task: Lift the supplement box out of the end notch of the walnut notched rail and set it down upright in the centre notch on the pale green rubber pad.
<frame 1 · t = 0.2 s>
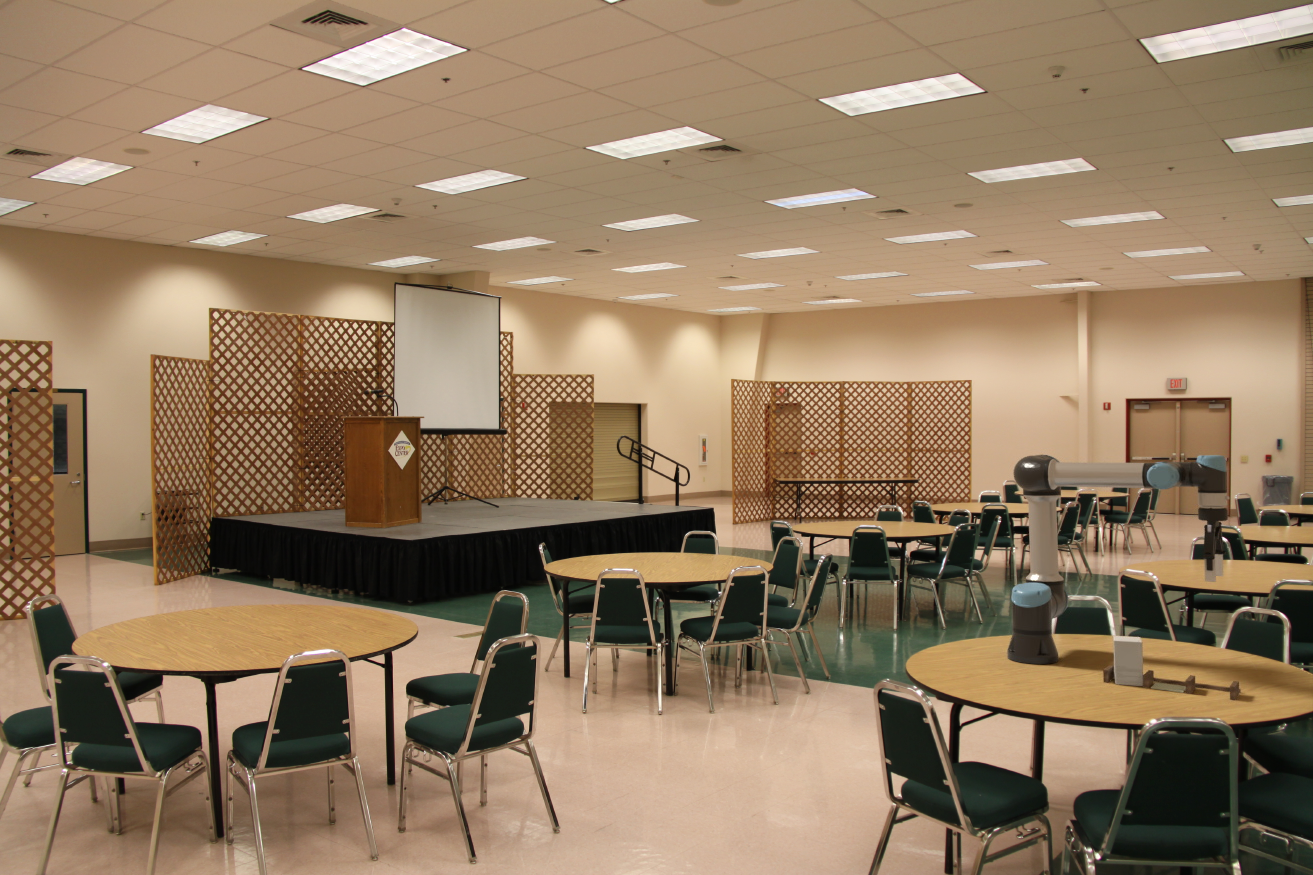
hand: (1214, 578, 276), 28 cm above the table, fingers open, 13 cm apart
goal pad: (1169, 687, 259), on the table
supplement box: (1128, 683, 266), on the table
notch rail: (1169, 687, 259), on the table
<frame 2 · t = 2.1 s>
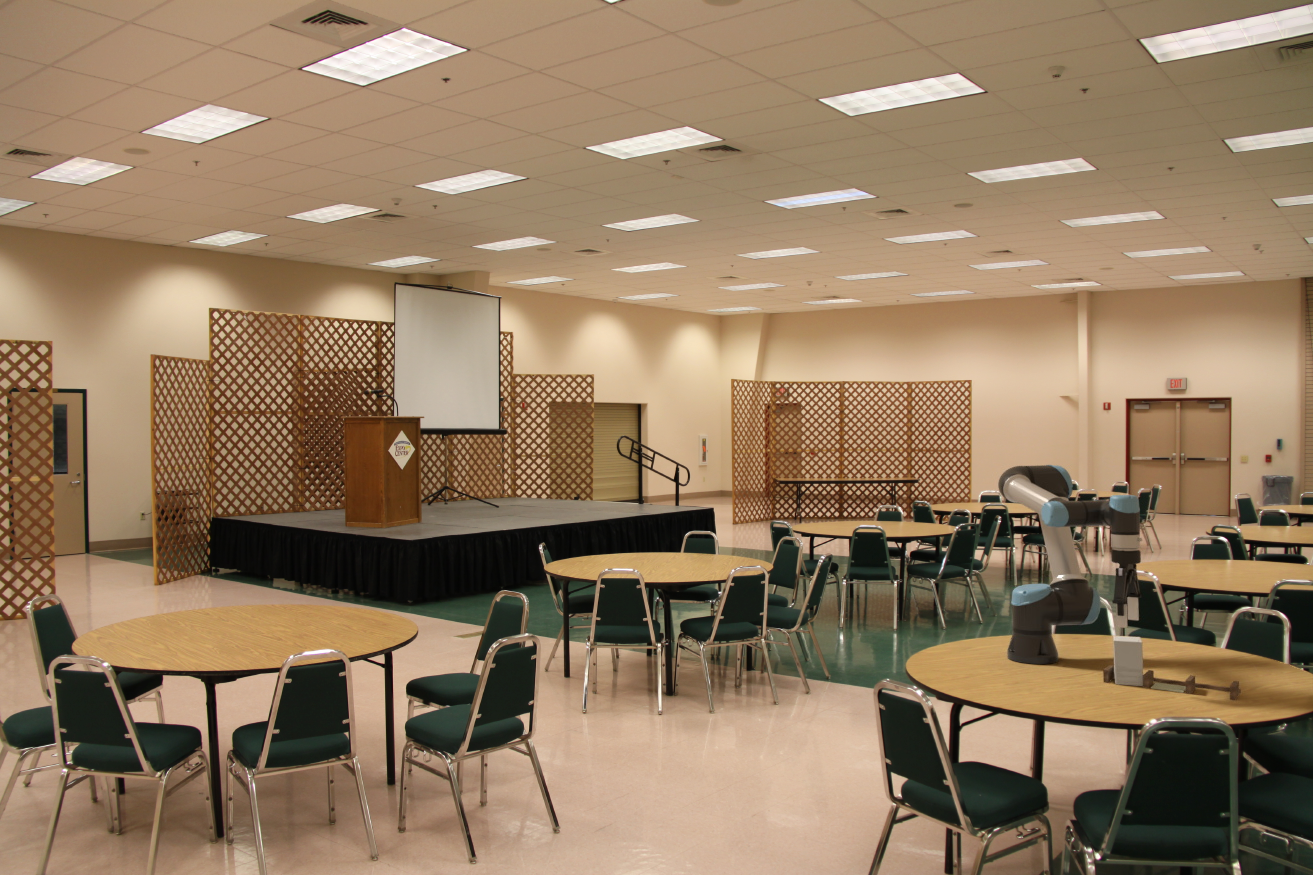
hand: (1127, 623, 266), 17 cm above the table, fingers open, 13 cm apart
nothing on the table moved.
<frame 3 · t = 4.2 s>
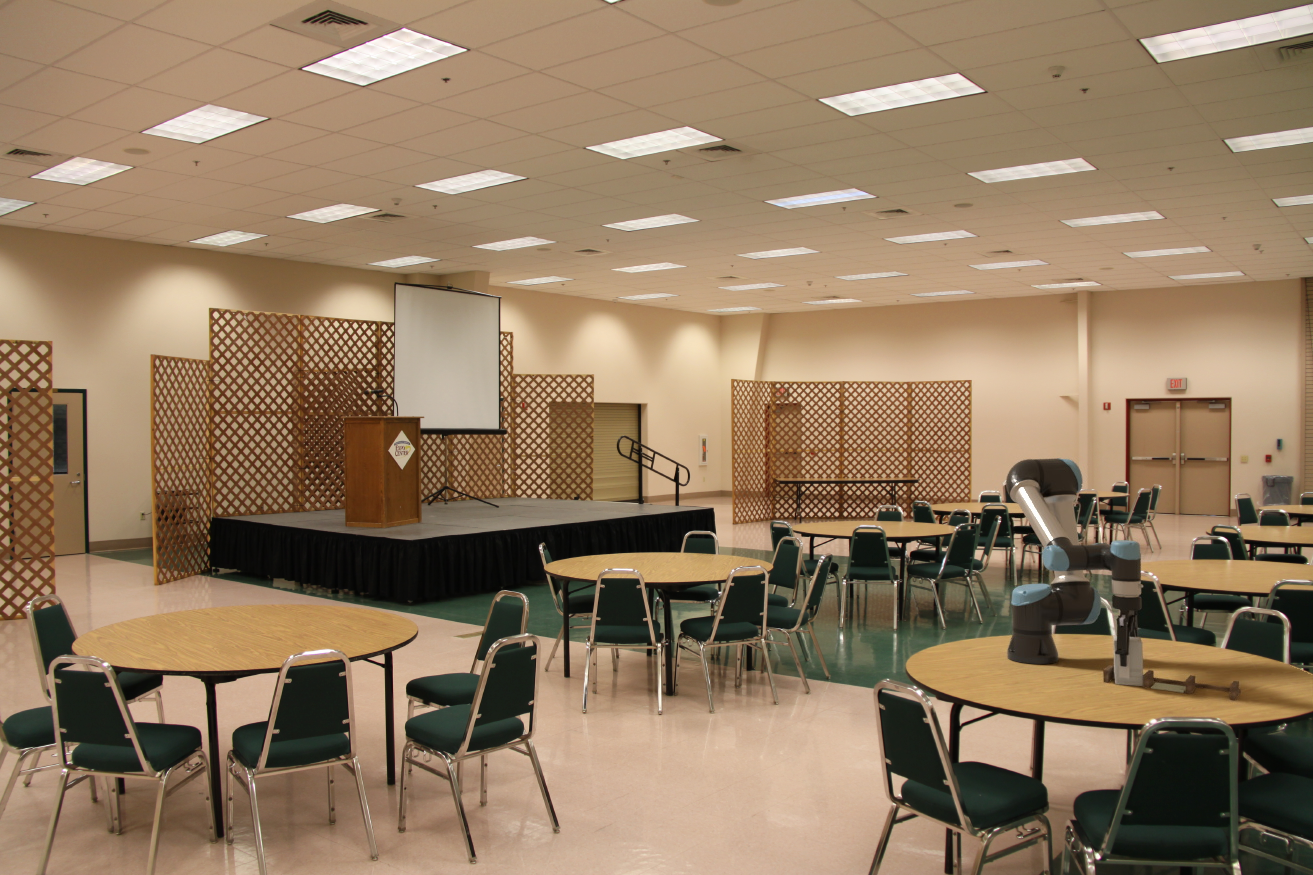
hand: (1128, 674, 266), 2 cm above the table, fingers closed on supplement box, 8 cm apart
supplement box: (1128, 683, 266), on the table, touching gripper
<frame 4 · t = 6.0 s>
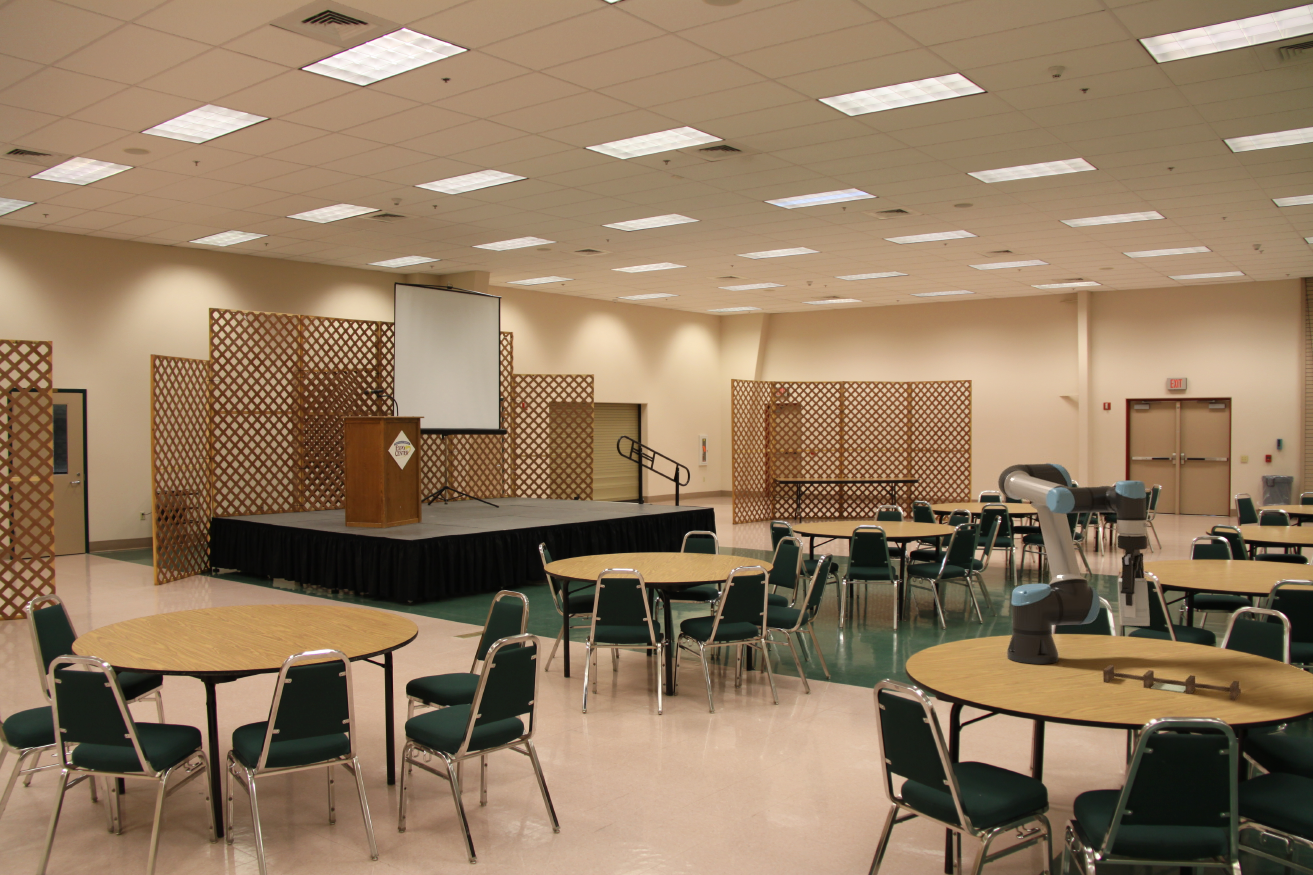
hand: (1134, 614, 264), 20 cm above the table, fingers closed on supplement box, 8 cm apart
supplement box: (1135, 624, 264), point 17 cm above the table, touching gripper
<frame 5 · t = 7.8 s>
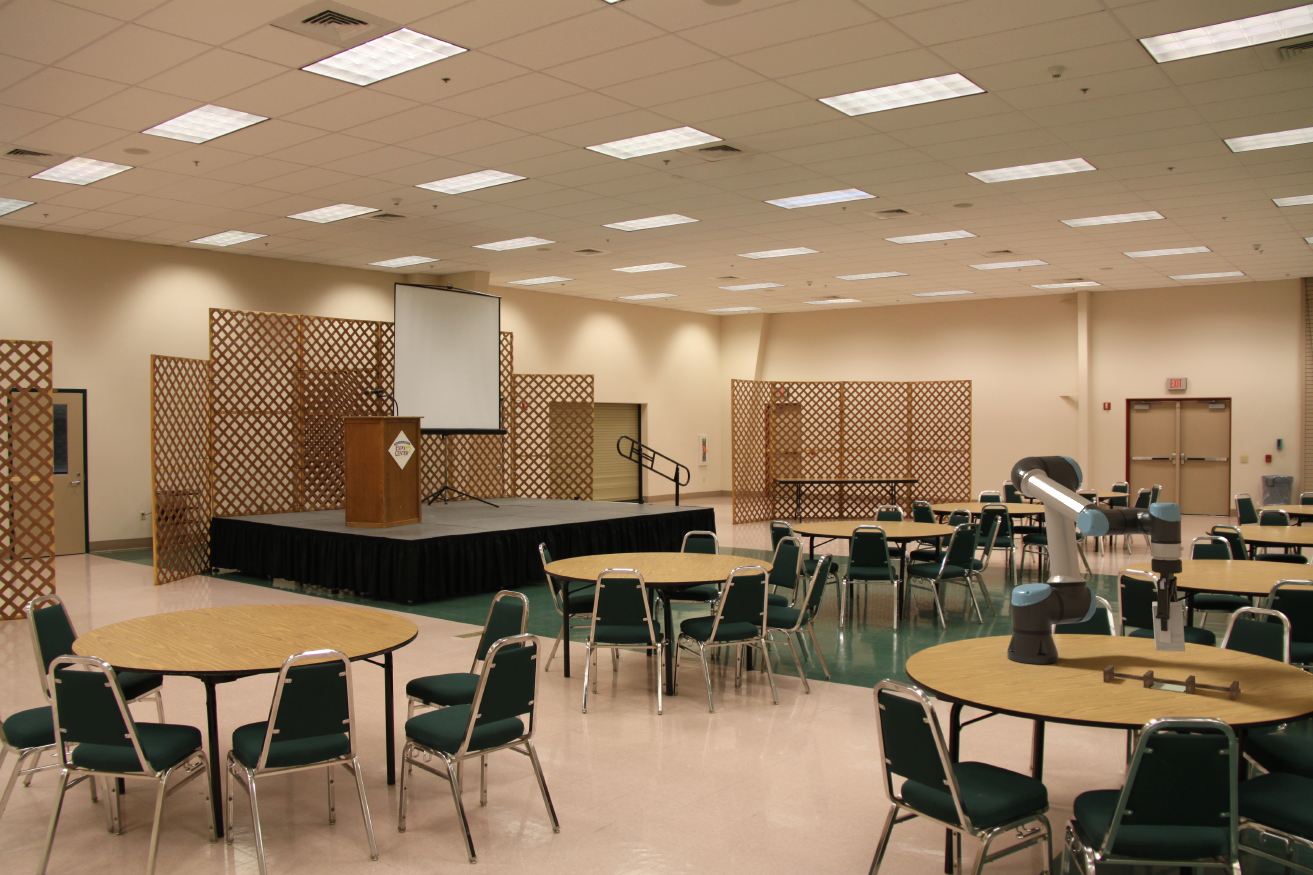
hand: (1168, 639, 259), 13 cm above the table, fingers closed on supplement box, 8 cm apart
supplement box: (1169, 649, 259), point 11 cm above the table, touching gripper
when the fingers open (4 cm above the table, at t = 10.3 s): supplement box stays where it is, resting on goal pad.
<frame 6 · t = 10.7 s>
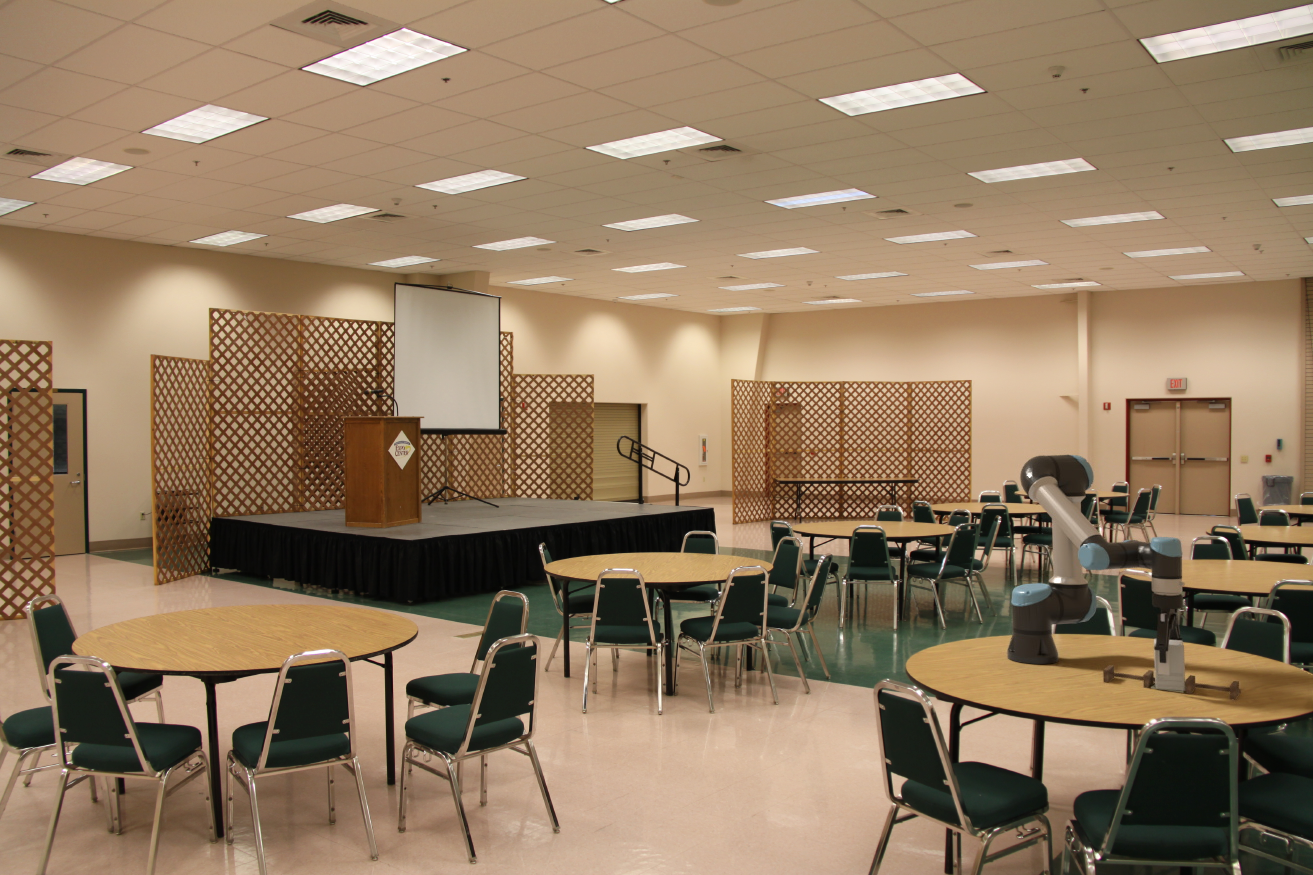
hand: (1169, 669, 259), 5 cm above the table, fingers open, 13 cm apart
supplement box: (1169, 687, 259), resting on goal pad
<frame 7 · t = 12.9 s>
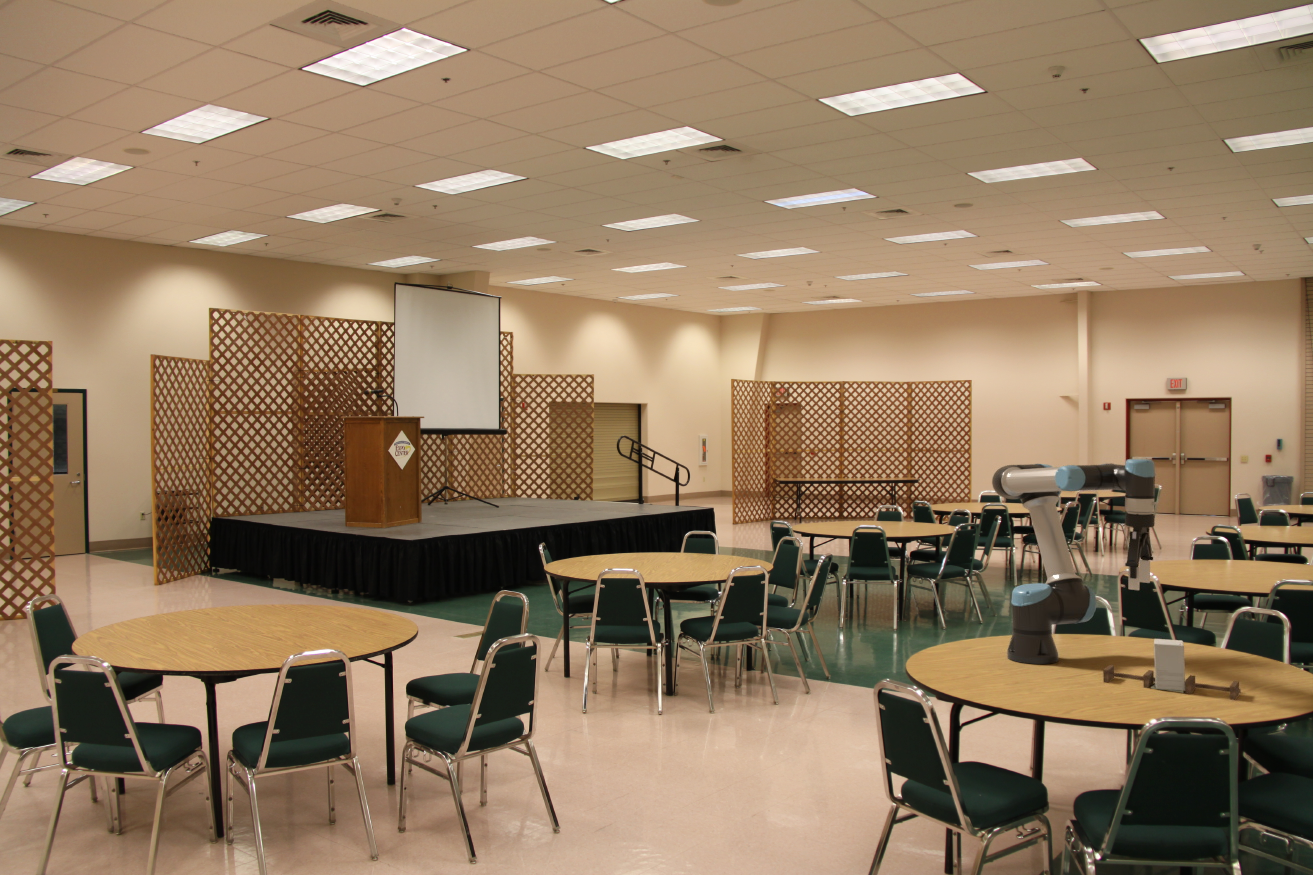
hand: (1139, 585, 269), 27 cm above the table, fingers open, 13 cm apart
nothing on the table moved.
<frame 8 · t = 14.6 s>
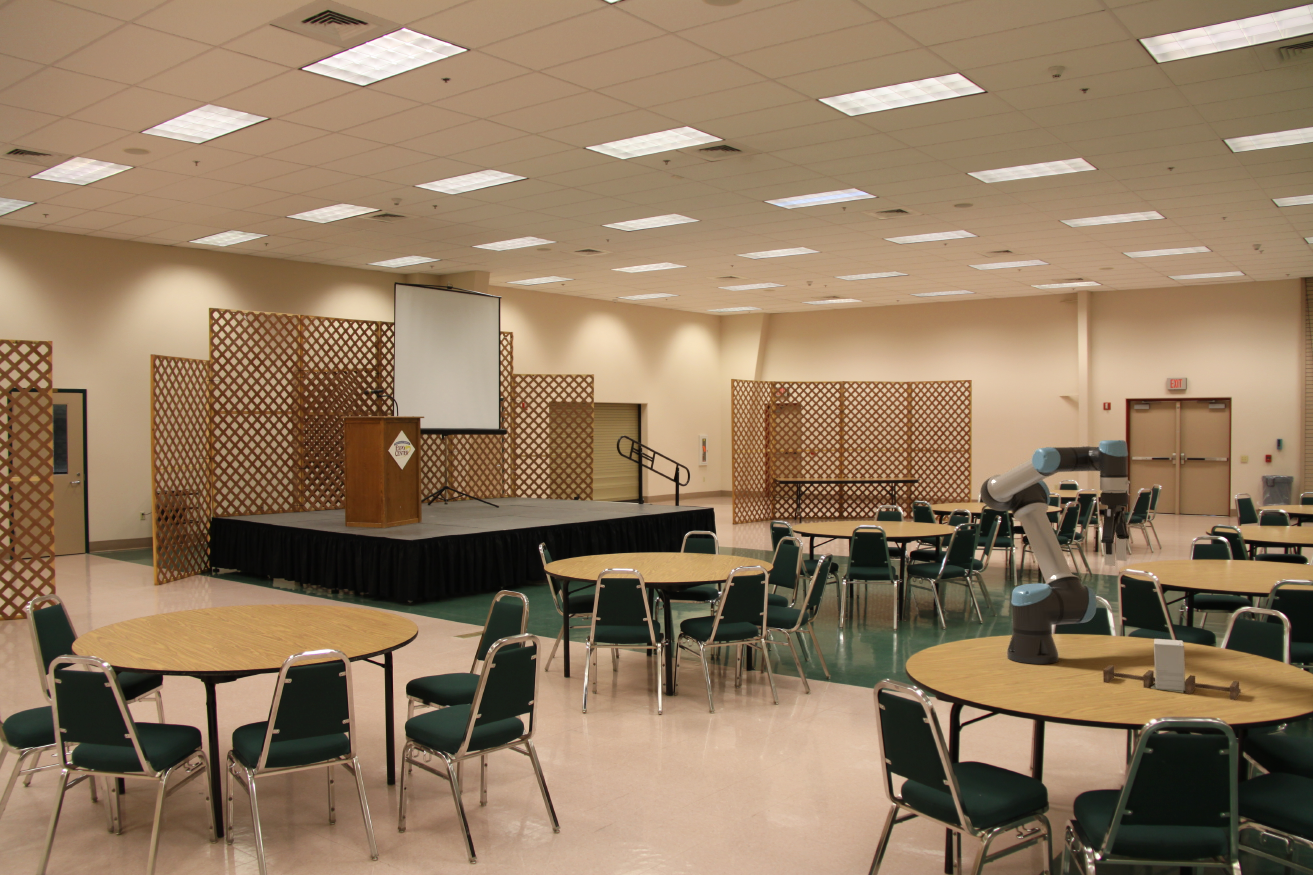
hand: (1115, 563, 277), 33 cm above the table, fingers open, 13 cm apart
nothing on the table moved.
at the end: supplement box 0.1 cm from the target spot, resting on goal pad; supplement box tilted 0°; the gripper is holding nothing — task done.
